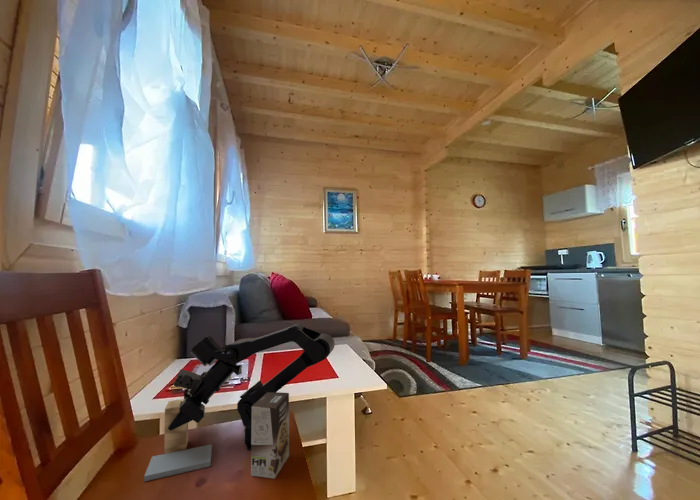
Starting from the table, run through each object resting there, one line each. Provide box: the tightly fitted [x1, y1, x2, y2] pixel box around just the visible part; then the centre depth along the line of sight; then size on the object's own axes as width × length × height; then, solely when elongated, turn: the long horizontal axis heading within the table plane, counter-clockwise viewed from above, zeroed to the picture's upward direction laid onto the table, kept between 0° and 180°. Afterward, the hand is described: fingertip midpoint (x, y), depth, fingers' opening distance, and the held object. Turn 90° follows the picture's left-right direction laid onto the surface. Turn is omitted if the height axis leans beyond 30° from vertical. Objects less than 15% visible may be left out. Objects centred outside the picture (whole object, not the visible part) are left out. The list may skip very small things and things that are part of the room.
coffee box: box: [250, 391, 290, 479], centre depth 77 cm, size 9×6×16 cm
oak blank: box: [164, 398, 189, 454], centre depth 85 cm, size 5×5×12 cm
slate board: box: [143, 443, 213, 483], centre depth 78 cm, size 14×8×1 cm, turn 111°
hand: (171, 424), depth 84 cm, fingers closed on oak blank, 5 cm apart
